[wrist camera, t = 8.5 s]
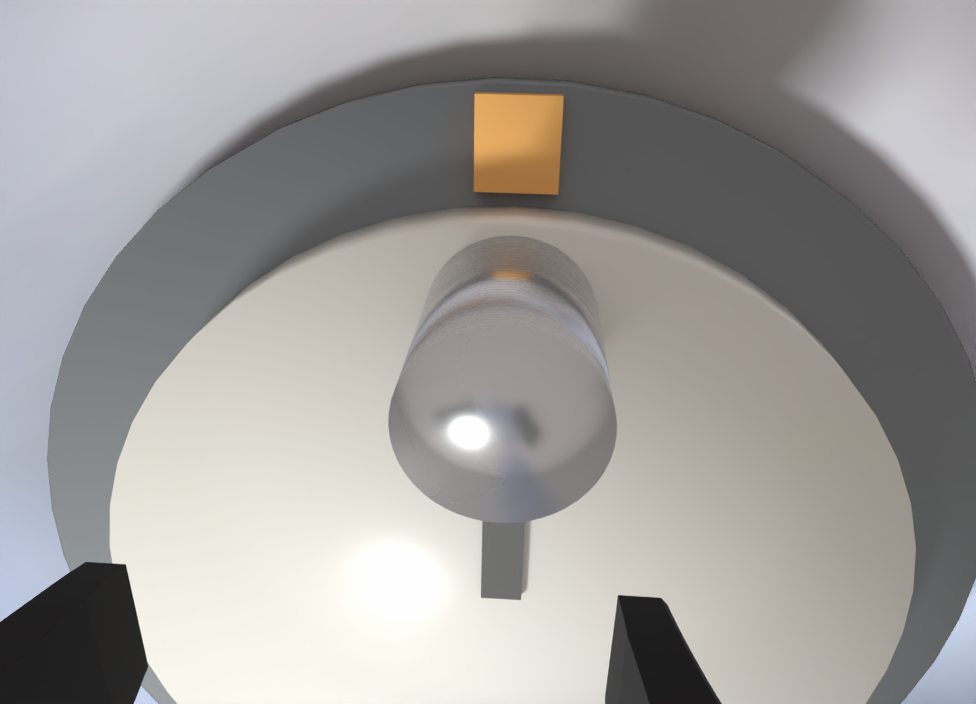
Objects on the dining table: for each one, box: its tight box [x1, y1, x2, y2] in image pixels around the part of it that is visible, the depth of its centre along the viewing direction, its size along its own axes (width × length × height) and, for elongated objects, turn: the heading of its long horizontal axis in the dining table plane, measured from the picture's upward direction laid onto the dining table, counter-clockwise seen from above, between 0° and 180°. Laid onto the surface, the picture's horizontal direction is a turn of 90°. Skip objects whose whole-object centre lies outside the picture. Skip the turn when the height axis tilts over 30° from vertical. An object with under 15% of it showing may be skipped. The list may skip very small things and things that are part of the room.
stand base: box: [47, 77, 976, 704], centre depth 22 cm, size 25×25×1 cm
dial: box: [110, 206, 916, 704], centre depth 18 cm, size 20×20×6 cm
